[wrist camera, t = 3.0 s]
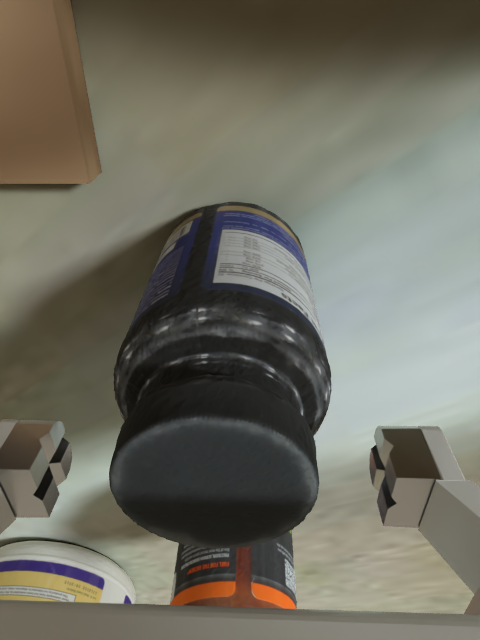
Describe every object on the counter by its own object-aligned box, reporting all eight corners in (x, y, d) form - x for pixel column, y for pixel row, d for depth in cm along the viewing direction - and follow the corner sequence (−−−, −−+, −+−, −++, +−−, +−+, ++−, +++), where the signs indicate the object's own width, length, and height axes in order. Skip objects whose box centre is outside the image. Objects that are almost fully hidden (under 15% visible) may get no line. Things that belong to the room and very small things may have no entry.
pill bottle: (196, 339, 21) (148, 580, 12) (137, 225, 18) (11, 432, 9) (322, 304, 20) (377, 545, 11) (282, 174, 17) (310, 355, 8)
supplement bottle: (171, 480, 27) (125, 720, 18) (224, 426, 24) (203, 678, 15) (250, 515, 29) (245, 751, 20) (308, 468, 26) (336, 718, 17)
